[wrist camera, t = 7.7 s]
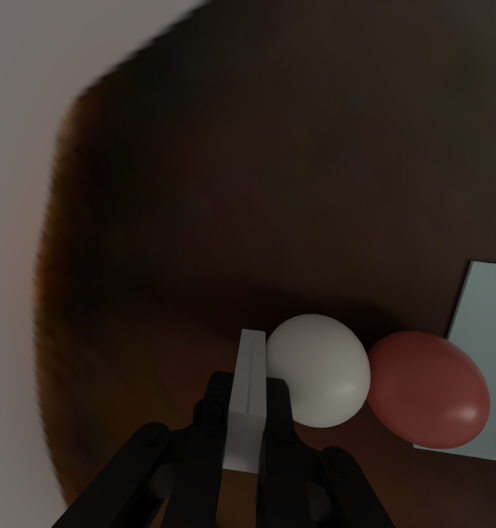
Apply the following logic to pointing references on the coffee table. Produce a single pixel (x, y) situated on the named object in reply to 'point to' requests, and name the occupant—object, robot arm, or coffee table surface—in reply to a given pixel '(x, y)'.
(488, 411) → the red ball
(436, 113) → the coffee table surface
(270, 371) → the white ball
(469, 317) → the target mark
